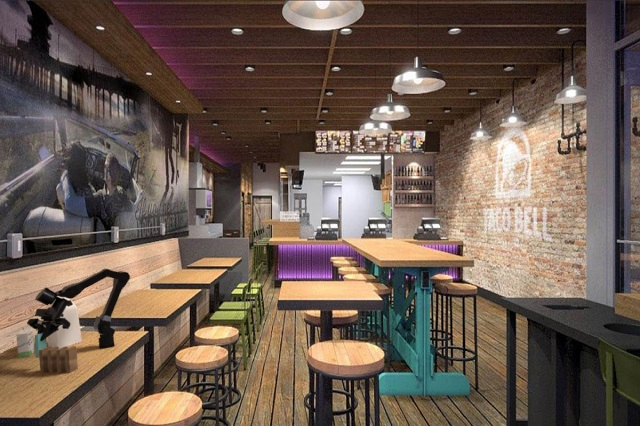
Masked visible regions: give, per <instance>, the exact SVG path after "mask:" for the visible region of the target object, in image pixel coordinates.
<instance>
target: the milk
mask: <svg viewBox="0 0 640 426" xmlns="http://www.w3.org/2000/svg"><path fill="white" fill-rule="evenodd" d="M57 297H59V296H57ZM59 298H65V299H66V300H71V302H72V303H73V305H71V306H69V307H68V306H66V308H65V310H64V312H63V313H62V314H63V315H64V316H63V317H60V318H65V319H67V320H68V321H69V322H70V327H69V329H63V328H62V326H63V325H60V326H59V328H58V329H59V330H58V331H56V332H54V333H53V334H51V335H50V336H48V337H47V347H50V348H53V347H59V349H60V348H62V347H64V346H67V347H68V346H72V345H74V344H75V343H76V344H78V342H79V343H82V342H83V340H82V335H81V334H82V333H81V332H82V331H81V324H80V318H79V309H78V307H77V306H76V305H77V304H75V302H73V300H72V299H69V298H66V297H59ZM53 303H54V302H53ZM53 303H52V304H51V305H50V306H49V307H51V306H52V305H53ZM81 341H82V342H81Z"/></svg>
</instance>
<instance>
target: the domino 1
mask: <svg viewBox="0 0 640 426" xmlns="http://www.w3.org/2000/svg"><path fill="white" fill-rule="evenodd" d="M42 334H43V333H40V334H37V333H36V334H35V335H34V349H35V351H34V352H35V358H37V359H39V350H40V349H43V348H45V347H48V342H47V338H46V339H44V340H43V341H40V339H41V336H42Z"/></svg>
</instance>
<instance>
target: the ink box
mask: <svg viewBox="0 0 640 426" xmlns="http://www.w3.org/2000/svg"><path fill="white" fill-rule="evenodd" d="M15 335H16V344H17V356H18V359H22V358H27V357H30V356H32V355H33V353H34V352H35V336H34V328H32V329H31V328H30V329H23V330H20V331H19V332H18V333H17V334H15Z"/></svg>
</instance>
